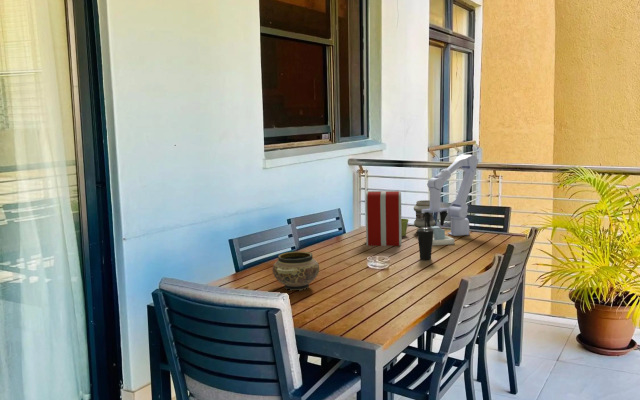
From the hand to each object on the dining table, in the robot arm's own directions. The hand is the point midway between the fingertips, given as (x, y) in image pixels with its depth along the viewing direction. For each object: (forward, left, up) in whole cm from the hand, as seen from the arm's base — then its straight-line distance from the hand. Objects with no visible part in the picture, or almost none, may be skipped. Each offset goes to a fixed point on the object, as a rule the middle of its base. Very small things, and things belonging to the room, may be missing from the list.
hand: (435, 225), depth 316 cm
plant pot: (+15, -13, -7) cm, 21 cm away
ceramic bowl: (+87, +72, -7) cm, 113 cm away
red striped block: (+29, +2, -7) cm, 30 cm away
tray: (+3, +10, -7) cm, 12 cm away
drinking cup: (+23, +44, -7) cm, 50 cm away
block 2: (+3, +13, -6) cm, 14 cm away
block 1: (0, 0, -7) cm, 7 cm away
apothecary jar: (0, -15, -7) cm, 16 cm away
